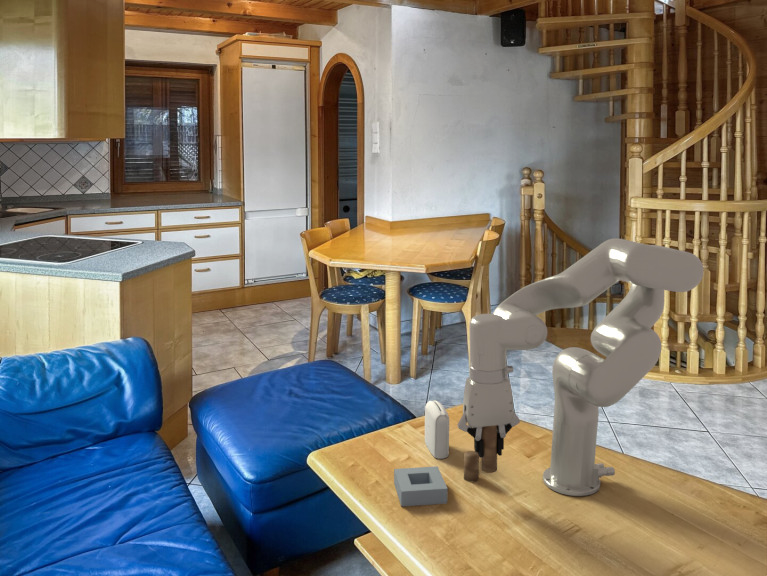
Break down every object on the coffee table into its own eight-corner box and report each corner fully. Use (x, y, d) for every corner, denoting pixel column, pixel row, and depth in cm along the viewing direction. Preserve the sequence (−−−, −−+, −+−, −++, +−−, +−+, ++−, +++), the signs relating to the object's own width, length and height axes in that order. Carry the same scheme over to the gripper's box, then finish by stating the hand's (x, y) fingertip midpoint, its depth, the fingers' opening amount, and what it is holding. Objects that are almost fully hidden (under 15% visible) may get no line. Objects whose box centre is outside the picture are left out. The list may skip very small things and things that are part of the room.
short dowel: (476, 473, 159) (477, 450, 158) (480, 481, 156) (481, 457, 154) (462, 475, 159) (462, 451, 157) (466, 482, 155) (466, 458, 154)
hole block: (437, 480, 156) (437, 466, 155) (447, 503, 146) (447, 488, 146) (394, 483, 155) (394, 469, 154) (401, 506, 145) (401, 491, 144)
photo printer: (422, 442, 175) (423, 396, 173) (438, 440, 176) (439, 395, 174) (433, 460, 166) (434, 412, 163) (450, 458, 167) (452, 411, 164)
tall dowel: (494, 464, 149) (494, 413, 146) (499, 471, 146) (498, 420, 143) (479, 466, 149) (478, 415, 146) (483, 473, 146) (483, 421, 143)
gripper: (520, 363, 147) (520, 441, 151) (445, 370, 145) (447, 449, 149) (532, 376, 140) (532, 457, 144) (453, 383, 138) (455, 466, 142)
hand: (489, 452), depth 147 cm, fingers closed on tall dowel, 3 cm apart
